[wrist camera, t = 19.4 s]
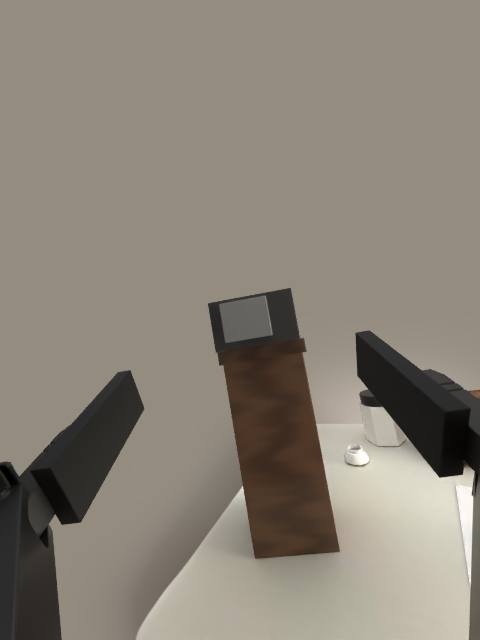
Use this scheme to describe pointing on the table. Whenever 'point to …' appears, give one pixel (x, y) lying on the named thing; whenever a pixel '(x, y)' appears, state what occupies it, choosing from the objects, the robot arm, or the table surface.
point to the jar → (379, 422)
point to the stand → (279, 450)
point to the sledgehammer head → (253, 320)
